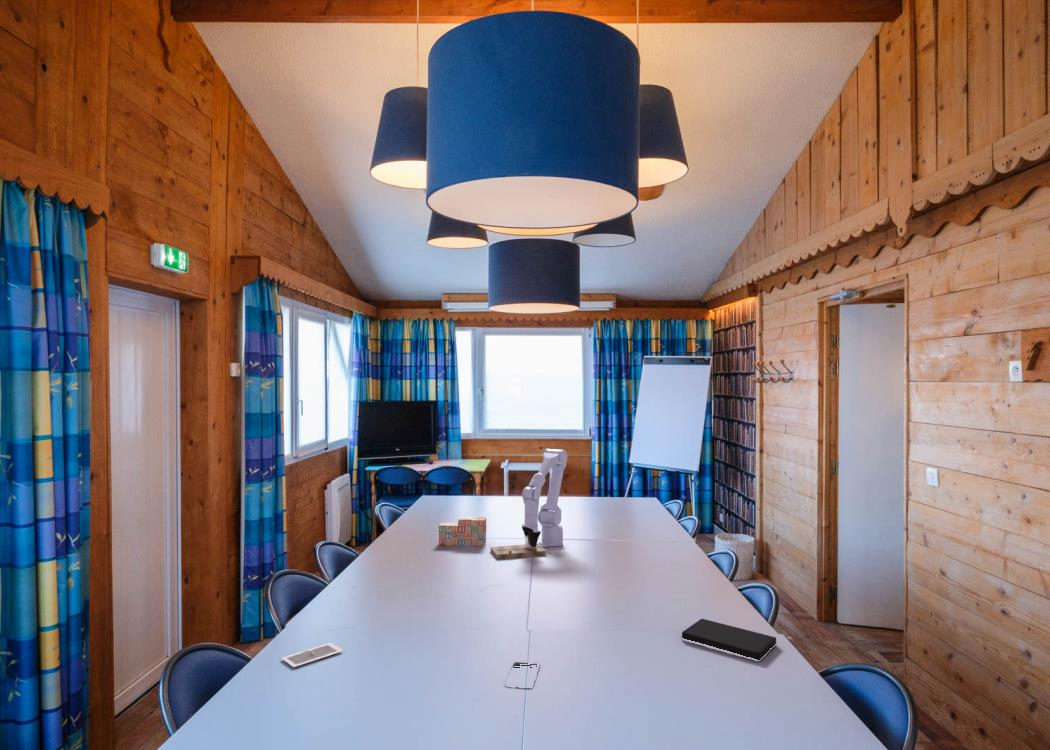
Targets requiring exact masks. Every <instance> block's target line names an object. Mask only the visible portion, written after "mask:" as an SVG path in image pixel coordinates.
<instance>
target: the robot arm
mask: <svg viewBox="0 0 1050 750" xmlns="http://www.w3.org/2000/svg"><path fill="white" fill-rule="evenodd" d="M568 457H569V456H568V454H567V452H566V450H565V449H556V448H555V449H554V448H552V449H551V448H546V449H545V450H544V452H543V455H542V459H543V461H542V462H541V465H540V467H539V470H538V472H537V473H534V474H533V476H532V477H531V480H530V481H529V484H528V486H526V487H524V488H523V489H522V493H521V498H522V501H523V503H524V520H523V521H524V522H523V523H522V524H521V529H522V531H523V535H524V536H525V535H529V537H530V544H531V547H536V545H537V544H539V545H540V546H541V547H542V548H548V547H560V546H562V547H563V546H564V544H563V543H564V529H563V526H562V525H561V522H562V509H561V508H560V507H559V505H558V502H559V497H560V493H561V487H562V482H563V481H562V480H563V476H564V475H563V474H564V471H565V469H566V468H567V462H568ZM550 470H552V471H551V477H550V480H549V481H550V482H549V486H548V493H547V497H546V500H545V501H546V502H545V503H544V504H542V505H540V509H539V508H538V503H539V502H538V500H539V499H541V498H540V497H541V493H542V488H543V486H544V484H545V483H546V476H547V474H548V473H549V471H550ZM538 509H539V512H538ZM539 524H540V526H541V531H540V530H539V527H538V526H539ZM540 535H541V541H538V540H539V536H540Z"/></svg>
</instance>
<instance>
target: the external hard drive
mask: <svg viewBox="0 0 1050 750" xmlns="http://www.w3.org/2000/svg"><path fill="white" fill-rule="evenodd" d="M682 638H684V639H687V640H691V641H695V642H699V643H702V644H706V645H709V646H713V647H716V648H719V649H723V650H727V651H730V652H733V653H737V654H740V655H743V656H746V657H751V658H754V659H757V660H760V659H761V658H762V657H763V656H764V655H765V654H766V653H767V652H768V651H769V650H770V648H772V647H773V646H774V645H775V644H776V645H777V637H776V636H772V635H769V634H764V633H760V632H757V631H752V630H749V629H748V630H747V629H744V628H740V627H737V626H733V625H728V624H725V623H722V622H721V623H720V622H718V621H717V622H716V621H713V620H709V619H705V618H700V619H699V620H697V621H696V622H694V623H693V624H691V625H690V626H689V627H687V628H686V629H685V630H683V631H682V632H681V639H682Z"/></svg>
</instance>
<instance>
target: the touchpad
mask: <svg viewBox="0 0 1050 750" xmlns="http://www.w3.org/2000/svg"><path fill="white" fill-rule="evenodd" d="M341 652H344V650H343V649H342V648H341V647H339V646H337V645H336V644H334V643H332V642H328V643H325V644H322V645H318V646H315V647H312V648H309V649H305V650H302V651H299V652H296V653H292V654H290V655H286V656H283V657H281V659H282V660H283V661H284V662H286V663H287V664H289V665H290V666H291V667H293V668H296V667H298V666H299V667H300V666H301V665H305V664H308V663H312V662H314V661H317V660H319V659H320V660H321V659H323V658H326V657H329V656H331V655H334V654H335V655H336V654H339V653H341Z"/></svg>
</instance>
